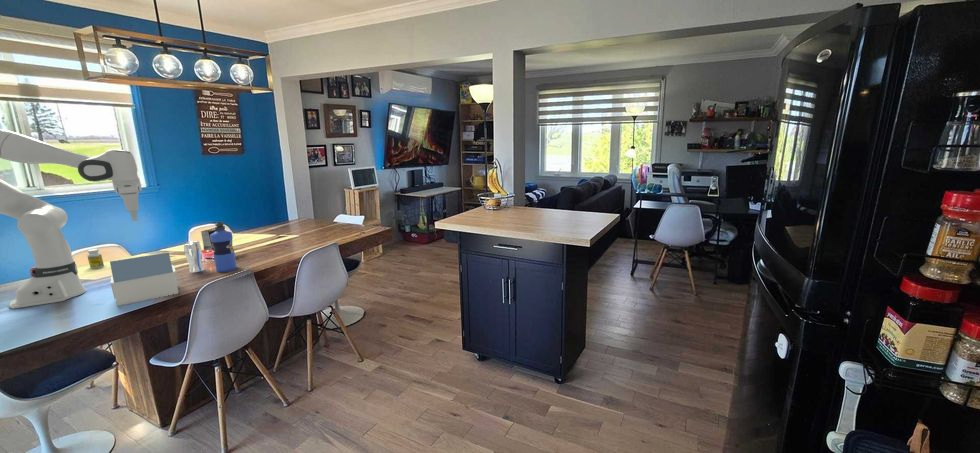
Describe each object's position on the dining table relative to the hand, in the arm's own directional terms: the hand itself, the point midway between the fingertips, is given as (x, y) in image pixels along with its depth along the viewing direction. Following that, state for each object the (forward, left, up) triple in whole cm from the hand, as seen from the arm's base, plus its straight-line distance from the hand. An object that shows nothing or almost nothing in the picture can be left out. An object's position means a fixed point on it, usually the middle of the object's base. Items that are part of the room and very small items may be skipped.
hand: (134, 219), depth 176 cm
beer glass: (+19, +17, -33) cm, 41 cm away
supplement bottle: (-20, +64, -33) cm, 74 cm away
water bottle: (+31, +9, -33) cm, 46 cm away
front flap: (-1, -14, -19) cm, 23 cm away
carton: (-1, -9, -32) cm, 34 cm away
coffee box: (+31, +41, -33) cm, 61 cm away
